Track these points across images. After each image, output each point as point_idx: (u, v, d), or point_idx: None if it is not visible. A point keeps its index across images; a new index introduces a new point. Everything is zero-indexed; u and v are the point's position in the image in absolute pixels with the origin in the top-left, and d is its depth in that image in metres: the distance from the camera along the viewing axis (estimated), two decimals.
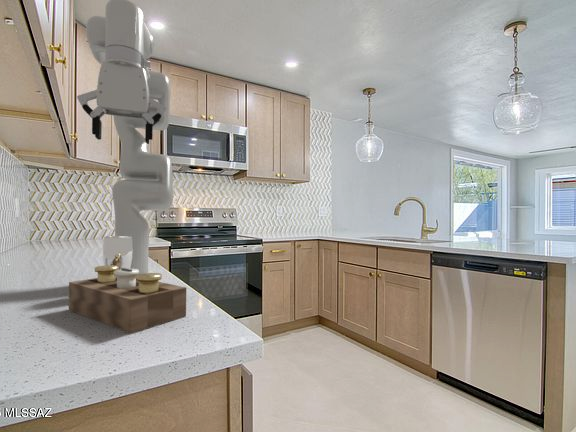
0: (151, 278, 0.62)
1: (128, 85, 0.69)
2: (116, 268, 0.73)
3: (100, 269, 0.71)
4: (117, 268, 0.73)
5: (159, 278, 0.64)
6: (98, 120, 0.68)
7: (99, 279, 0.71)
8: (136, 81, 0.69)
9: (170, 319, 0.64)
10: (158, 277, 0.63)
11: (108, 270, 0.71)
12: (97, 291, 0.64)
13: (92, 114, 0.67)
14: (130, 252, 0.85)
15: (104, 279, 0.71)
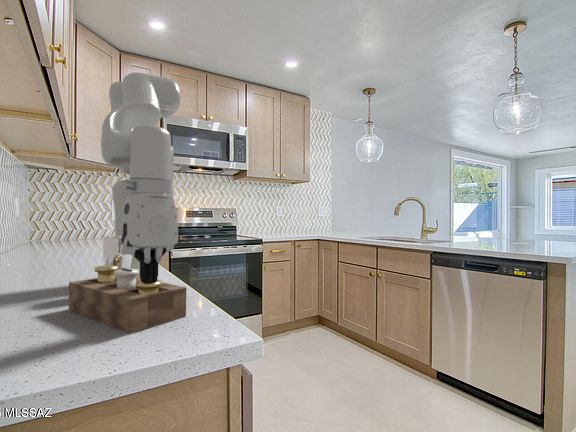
0: (151, 285, 0.62)
1: None
2: (116, 268, 0.73)
3: (100, 269, 0.71)
4: (117, 268, 0.73)
5: (159, 285, 0.64)
6: None
7: (99, 279, 0.71)
8: None
9: (170, 319, 0.64)
10: (158, 284, 0.63)
11: (108, 270, 0.71)
12: (97, 291, 0.64)
13: None
14: None
15: (104, 279, 0.71)
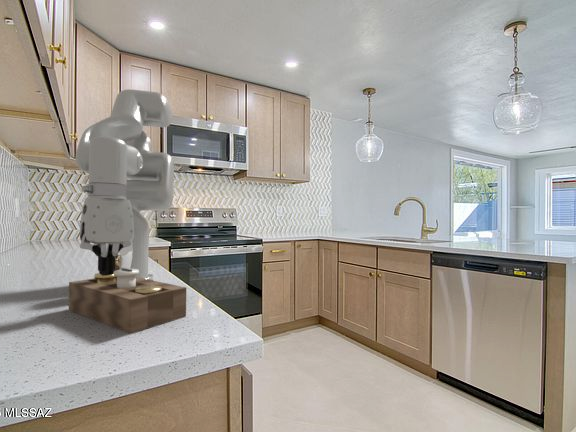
0: (151, 291, 0.62)
1: None
2: None
3: (100, 276, 0.71)
4: None
5: (159, 291, 0.64)
6: None
7: None
8: None
9: (170, 319, 0.64)
10: (158, 290, 0.63)
11: (108, 277, 0.71)
12: (97, 291, 0.64)
13: None
14: (130, 252, 0.85)
15: None
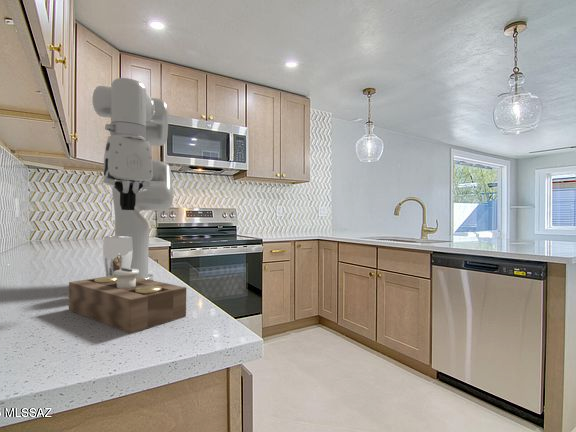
0: (151, 291, 0.62)
1: None
2: (116, 280, 0.73)
3: (100, 281, 0.71)
4: None
5: (159, 291, 0.64)
6: None
7: None
8: None
9: (170, 319, 0.64)
10: (158, 290, 0.63)
11: None
12: (97, 291, 0.64)
13: None
14: (130, 252, 0.85)
15: None
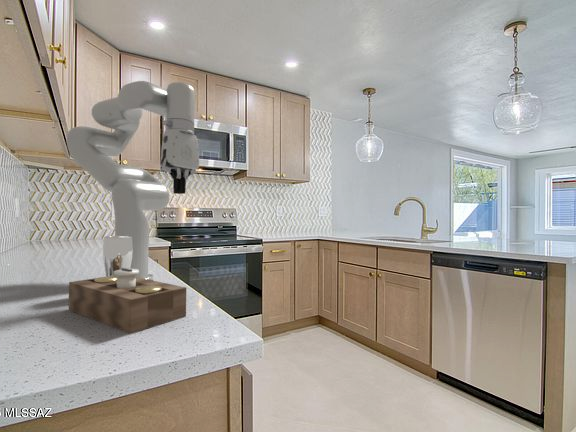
0: (151, 291, 0.62)
1: None
2: (116, 280, 0.73)
3: (100, 281, 0.71)
4: None
5: (159, 291, 0.64)
6: None
7: None
8: None
9: (170, 319, 0.64)
10: (158, 290, 0.63)
11: None
12: (97, 291, 0.64)
13: None
14: (130, 252, 0.85)
15: None
